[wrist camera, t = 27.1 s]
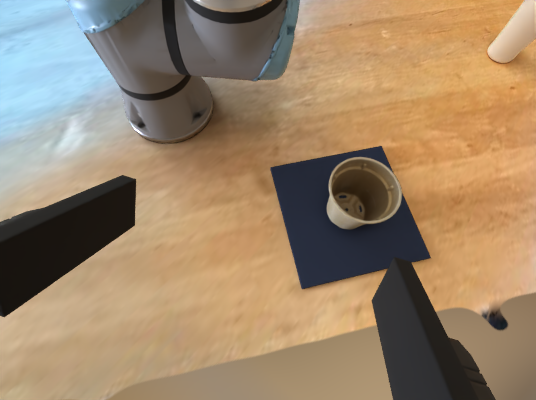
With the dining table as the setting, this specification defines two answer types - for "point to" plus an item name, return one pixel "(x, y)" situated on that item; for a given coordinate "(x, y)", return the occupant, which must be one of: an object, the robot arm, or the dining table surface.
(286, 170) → the placemat
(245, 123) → the dining table surface
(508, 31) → the white vase
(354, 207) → the flower pot
